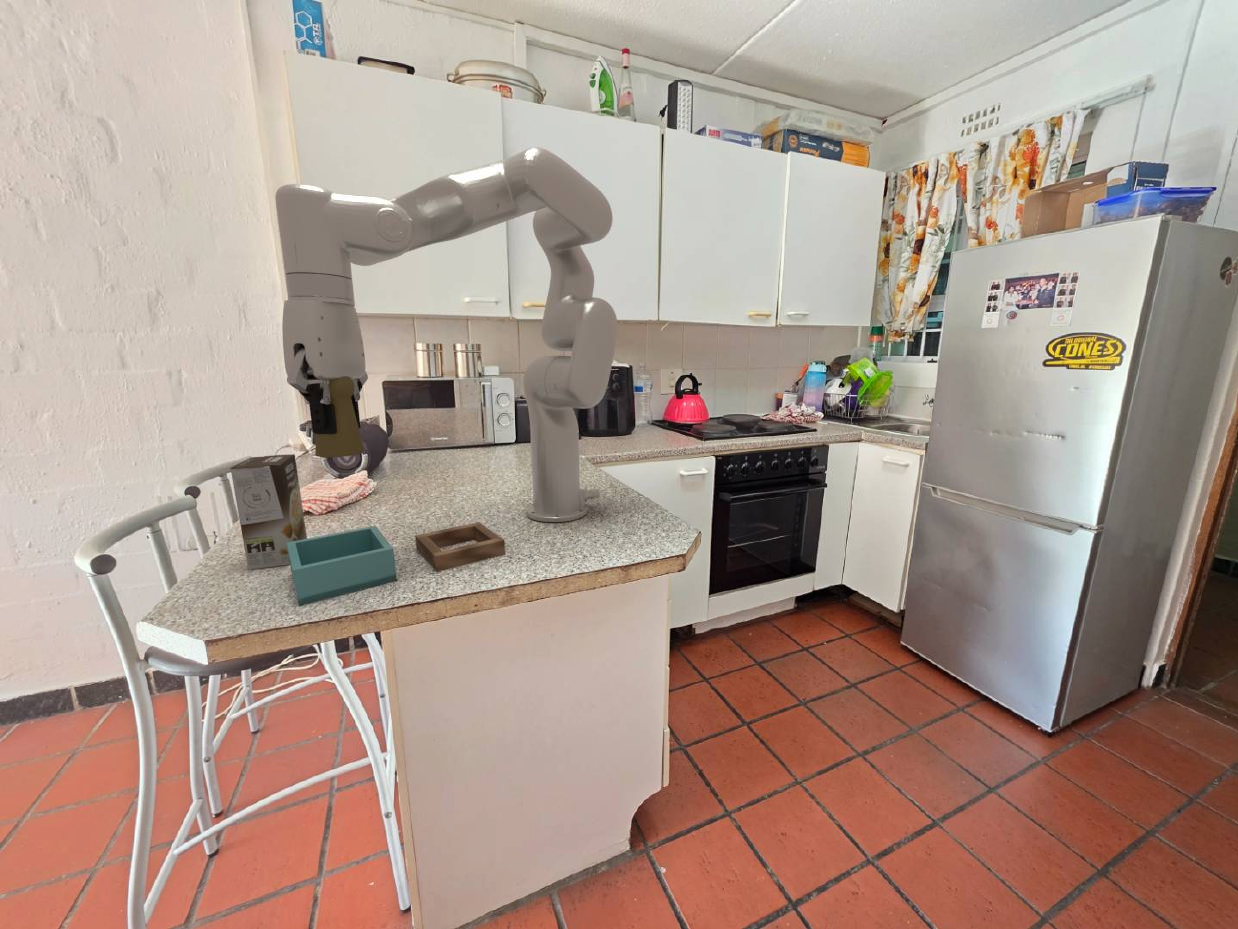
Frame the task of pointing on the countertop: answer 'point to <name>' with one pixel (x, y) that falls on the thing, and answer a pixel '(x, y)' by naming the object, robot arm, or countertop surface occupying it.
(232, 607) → the countertop surface
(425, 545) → the walnut collar
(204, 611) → the countertop surface
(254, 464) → the coffee box
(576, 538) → the countertop surface
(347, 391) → the cork
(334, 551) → the teal bin
